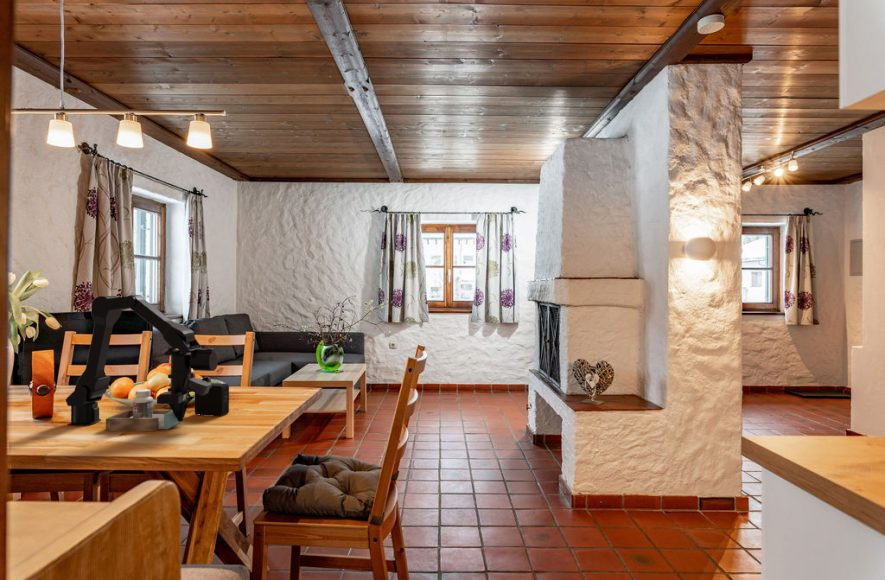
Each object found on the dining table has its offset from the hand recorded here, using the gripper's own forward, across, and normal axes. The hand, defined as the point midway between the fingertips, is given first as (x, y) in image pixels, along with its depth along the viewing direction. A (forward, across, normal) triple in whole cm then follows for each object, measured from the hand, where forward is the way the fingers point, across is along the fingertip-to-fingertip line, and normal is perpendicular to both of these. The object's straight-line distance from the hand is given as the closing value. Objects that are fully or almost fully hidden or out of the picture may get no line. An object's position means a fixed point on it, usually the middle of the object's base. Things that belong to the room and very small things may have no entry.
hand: (180, 421), depth 166 cm
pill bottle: (+1, 0, +11) cm, 11 cm away
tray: (+1, 0, +8) cm, 8 cm away
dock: (+1, 0, +12) cm, 12 cm away
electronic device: (+2, +15, -4) cm, 16 cm away
